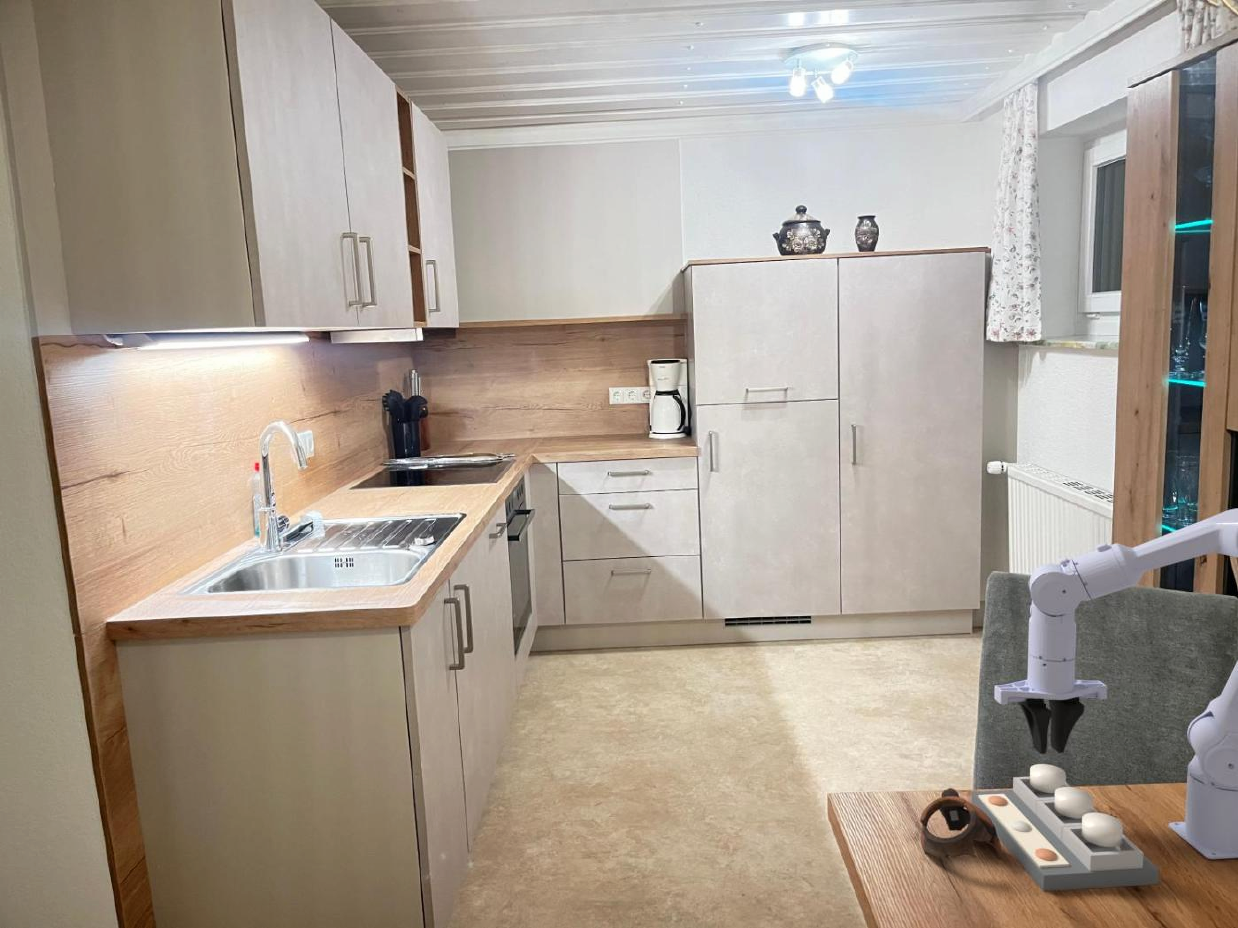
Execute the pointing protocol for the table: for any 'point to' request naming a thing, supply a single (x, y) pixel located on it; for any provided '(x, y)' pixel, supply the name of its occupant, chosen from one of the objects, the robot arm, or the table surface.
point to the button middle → (1073, 802)
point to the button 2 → (1102, 829)
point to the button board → (1059, 842)
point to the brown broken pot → (957, 827)
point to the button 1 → (1047, 777)
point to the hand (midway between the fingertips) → (1048, 749)
